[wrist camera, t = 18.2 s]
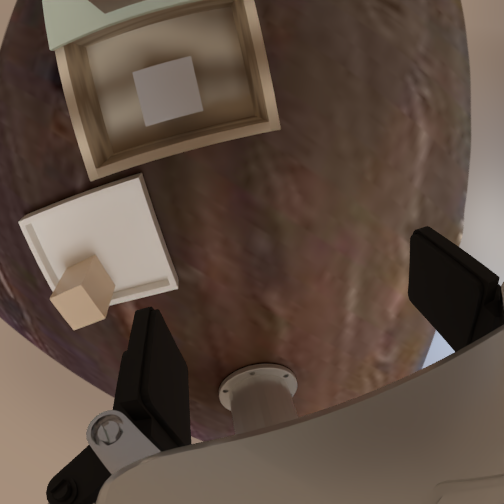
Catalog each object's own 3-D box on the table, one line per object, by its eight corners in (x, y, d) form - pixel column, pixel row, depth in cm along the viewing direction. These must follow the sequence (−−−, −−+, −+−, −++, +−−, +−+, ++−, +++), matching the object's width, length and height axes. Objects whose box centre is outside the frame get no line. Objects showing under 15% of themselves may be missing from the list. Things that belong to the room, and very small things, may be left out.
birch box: (262, 121, 30) (280, 129, 24) (110, 162, 29) (90, 181, 23) (236, 0, 23) (248, -23, 17) (79, 44, 23) (51, 35, 16)
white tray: (178, 278, 37) (178, 288, 35) (70, 305, 36) (66, 315, 34) (141, 172, 30) (138, 177, 28) (25, 214, 29) (18, 222, 28)
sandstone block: (115, 285, 35) (105, 318, 30) (86, 297, 35) (73, 330, 30) (95, 254, 33) (81, 284, 27) (66, 268, 33) (49, 298, 28)
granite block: (201, 107, 27) (203, 110, 22) (155, 120, 27) (145, 126, 22) (191, 63, 25) (190, 55, 20) (144, 76, 25) (132, 72, 20)
